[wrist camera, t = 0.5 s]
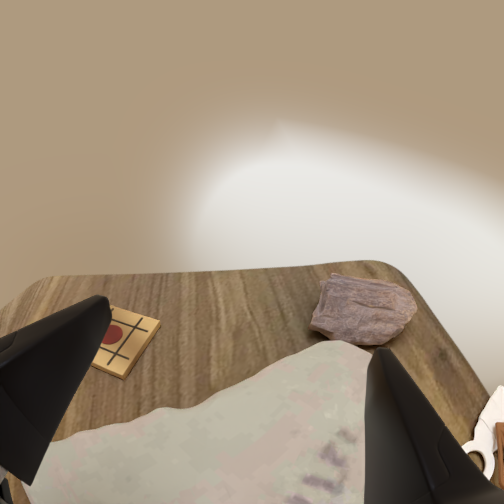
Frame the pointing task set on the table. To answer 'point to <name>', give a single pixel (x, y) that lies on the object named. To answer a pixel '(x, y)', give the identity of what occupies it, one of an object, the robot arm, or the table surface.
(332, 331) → the rock
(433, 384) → the table surface
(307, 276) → the table surface
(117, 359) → the board
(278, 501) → the stone
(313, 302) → the table surface
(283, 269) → the table surface
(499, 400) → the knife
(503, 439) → the emblem
